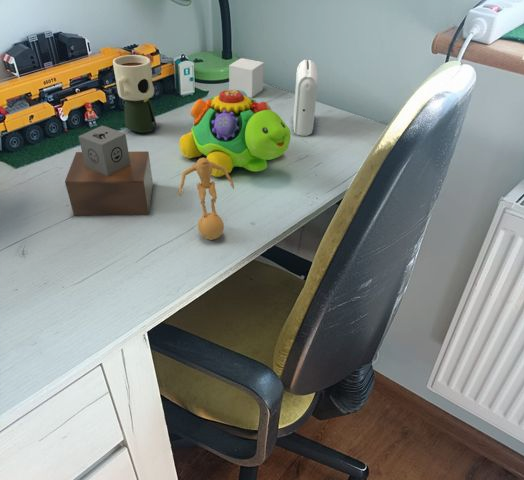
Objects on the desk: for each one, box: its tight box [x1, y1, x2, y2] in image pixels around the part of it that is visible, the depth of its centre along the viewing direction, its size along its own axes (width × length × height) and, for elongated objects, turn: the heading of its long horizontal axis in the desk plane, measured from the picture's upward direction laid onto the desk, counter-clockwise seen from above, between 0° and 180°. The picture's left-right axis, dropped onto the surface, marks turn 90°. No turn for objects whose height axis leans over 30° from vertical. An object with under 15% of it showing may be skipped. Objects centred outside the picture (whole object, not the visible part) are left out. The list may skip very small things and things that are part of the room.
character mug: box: [112, 54, 157, 133], centre depth 102 cm, size 11×7×13 cm, turn 161°
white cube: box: [228, 57, 265, 99], centre depth 121 cm, size 6×6×6 cm
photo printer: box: [292, 59, 319, 137], centre depth 105 cm, size 10×4×12 cm, turn 177°
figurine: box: [178, 157, 235, 241], centre depth 77 cm, size 8×6×12 cm
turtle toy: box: [178, 89, 291, 178], centre depth 94 cm, size 17×23×12 cm
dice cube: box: [77, 125, 130, 176], centre depth 81 cm, size 5×5×5 cm
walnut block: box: [64, 150, 154, 217], centre depth 85 cm, size 12×10×6 cm
